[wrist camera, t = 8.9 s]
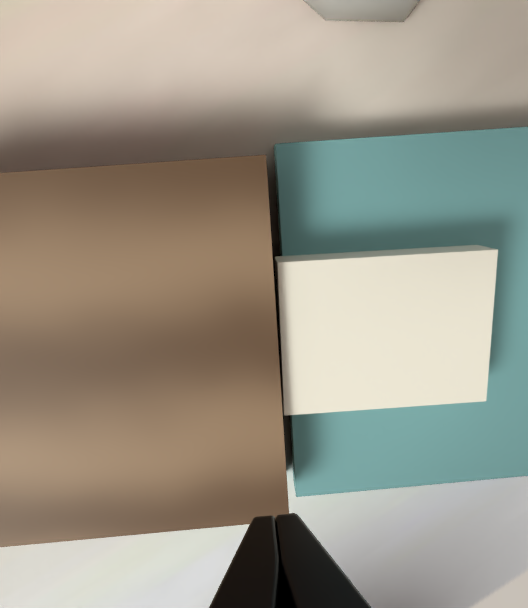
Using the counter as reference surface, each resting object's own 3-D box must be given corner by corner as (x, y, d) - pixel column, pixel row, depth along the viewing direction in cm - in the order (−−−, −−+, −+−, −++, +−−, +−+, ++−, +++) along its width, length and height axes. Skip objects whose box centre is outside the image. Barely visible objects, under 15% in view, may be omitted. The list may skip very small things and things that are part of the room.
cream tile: (467, 385, 19) (486, 401, 18) (281, 398, 19) (284, 415, 17) (477, 244, 18) (498, 249, 16) (274, 256, 17) (277, 262, 16)
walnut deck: (282, 474, 21) (289, 520, 18) (22, 497, 21) (-14, 548, 18) (261, 160, 17) (265, 154, 15) (-53, 182, 17) (-113, 180, 14)
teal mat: (523, 462, 21) (536, 474, 20) (293, 482, 21) (296, 497, 20) (552, 127, 18) (569, 123, 17) (273, 146, 17) (275, 143, 16)
